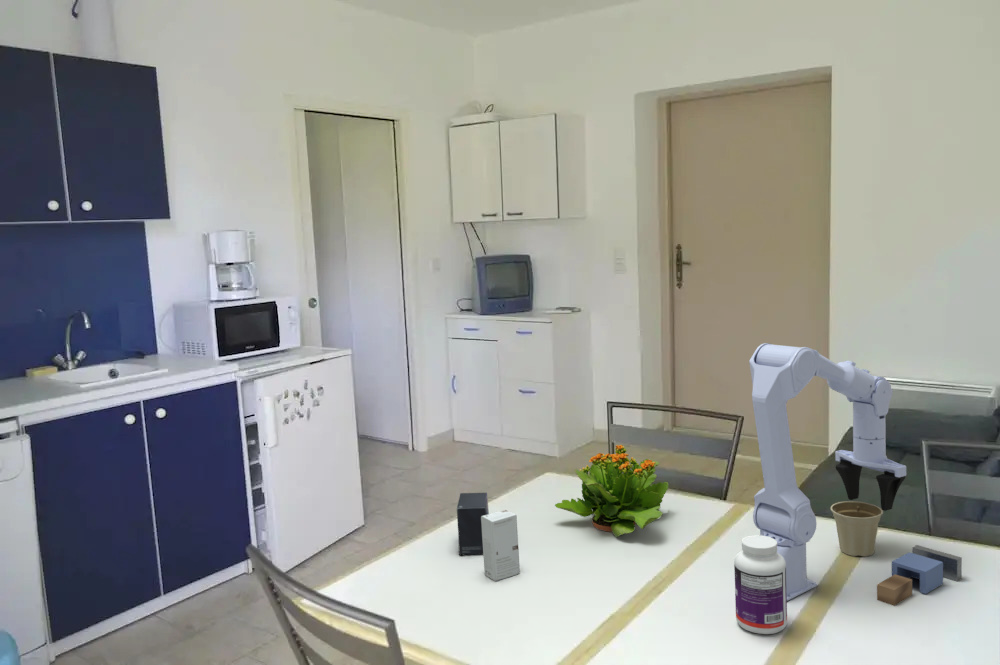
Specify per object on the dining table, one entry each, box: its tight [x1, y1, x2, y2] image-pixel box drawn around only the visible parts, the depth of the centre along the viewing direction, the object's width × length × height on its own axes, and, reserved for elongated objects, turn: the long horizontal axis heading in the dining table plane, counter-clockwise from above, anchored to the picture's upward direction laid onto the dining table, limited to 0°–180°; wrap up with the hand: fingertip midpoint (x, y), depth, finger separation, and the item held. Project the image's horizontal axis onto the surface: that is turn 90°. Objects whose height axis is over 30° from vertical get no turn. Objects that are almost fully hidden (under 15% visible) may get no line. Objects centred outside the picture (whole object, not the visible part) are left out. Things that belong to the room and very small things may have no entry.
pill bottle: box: [733, 534, 788, 635], centre depth 129 cm, size 8×8×14 cm
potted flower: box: [554, 444, 669, 538], centre depth 178 cm, size 25×24×18 cm
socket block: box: [891, 552, 944, 595], centre depth 140 cm, size 6×6×4 cm
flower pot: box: [829, 500, 884, 558], centre depth 155 cm, size 9×9×9 cm
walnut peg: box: [876, 574, 913, 607], centre depth 136 cm, size 6×3×3 cm, turn 126°
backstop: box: [911, 544, 963, 582], centre depth 144 cm, size 2×8×4 cm, turn 35°
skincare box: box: [481, 509, 521, 582], centre depth 155 cm, size 6×4×12 cm
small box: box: [456, 492, 490, 556], centre depth 171 cm, size 11×6×10 cm, turn 179°
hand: (869, 503), depth 154 cm, fingers open, 7 cm apart
